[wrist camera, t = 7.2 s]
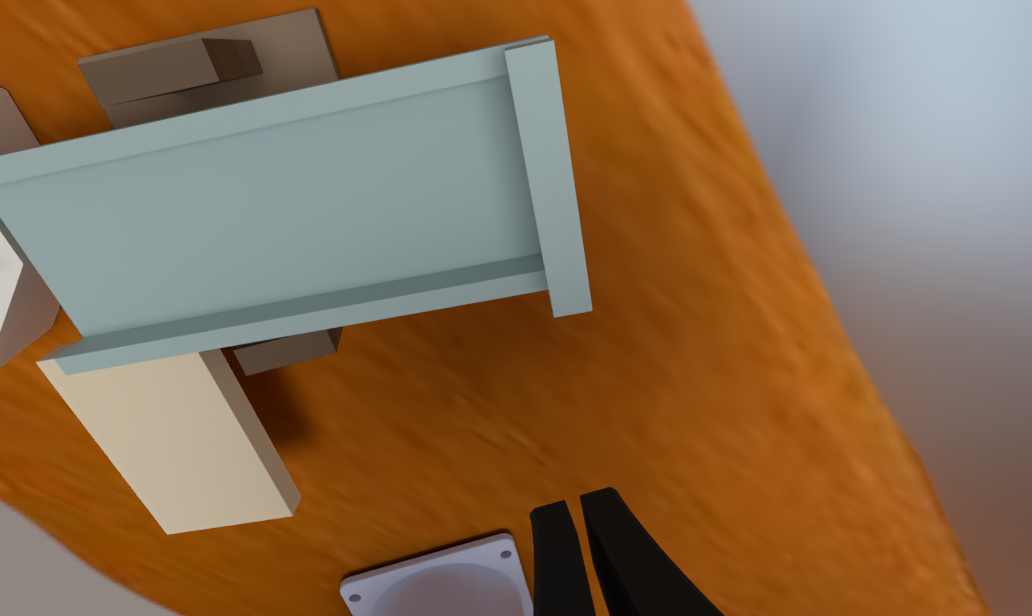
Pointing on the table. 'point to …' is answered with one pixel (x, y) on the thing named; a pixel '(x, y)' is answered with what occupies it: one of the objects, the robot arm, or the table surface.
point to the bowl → (19, 260)
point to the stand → (215, 82)
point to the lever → (285, 249)
